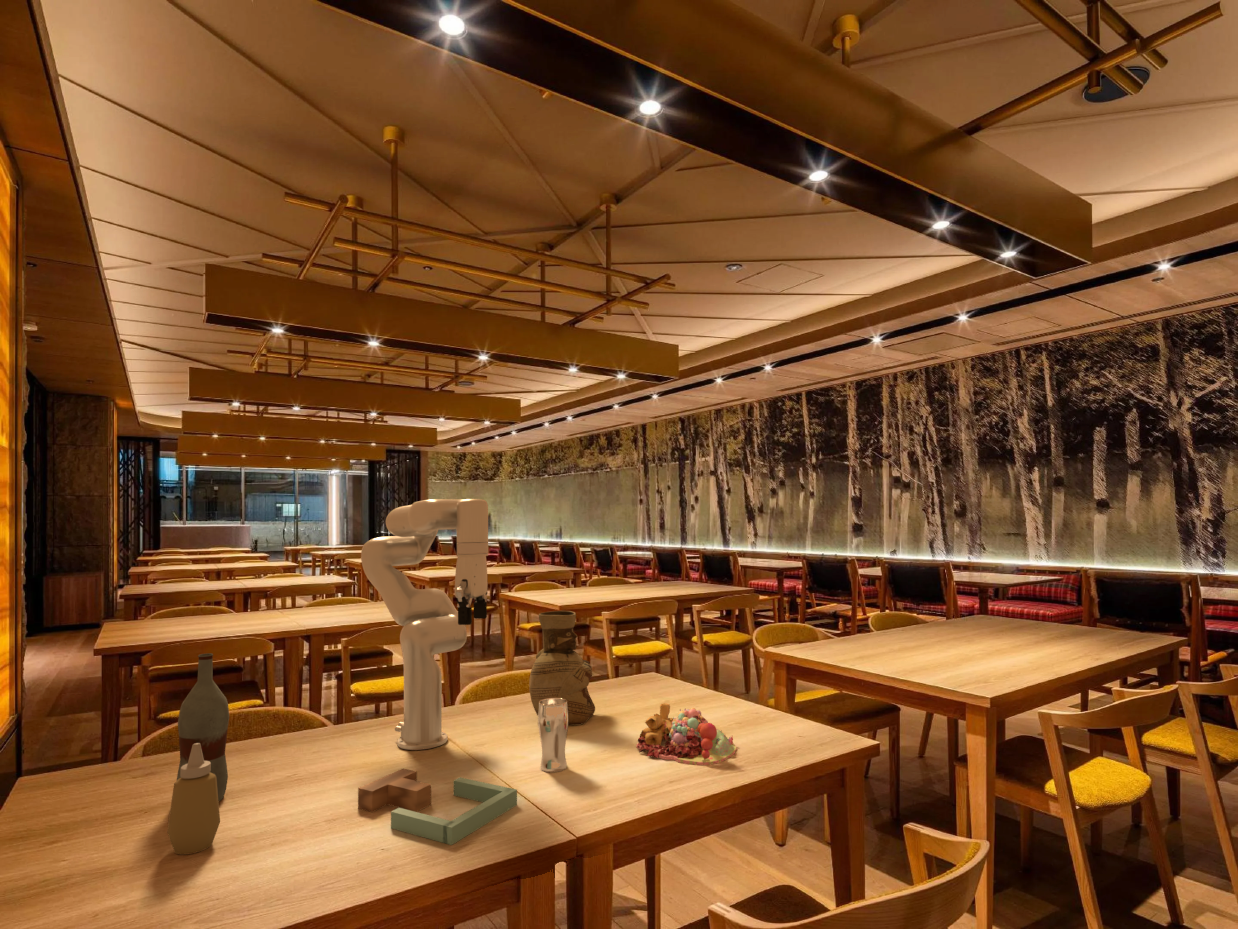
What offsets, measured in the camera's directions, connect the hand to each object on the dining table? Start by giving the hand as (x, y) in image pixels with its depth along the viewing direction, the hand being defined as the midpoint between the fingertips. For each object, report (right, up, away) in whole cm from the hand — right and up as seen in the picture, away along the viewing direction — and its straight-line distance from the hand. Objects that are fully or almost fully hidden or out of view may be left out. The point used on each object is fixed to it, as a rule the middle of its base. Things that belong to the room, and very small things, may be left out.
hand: (472, 621), depth 165 cm
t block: (-9, -31, -25) cm, 41 cm away
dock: (+4, -31, -32) cm, 44 cm away
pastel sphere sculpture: (+52, -33, +6) cm, 62 cm away
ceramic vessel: (+19, -36, +33) cm, 52 cm away
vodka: (-52, -33, -22) cm, 65 cm away
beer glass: (+20, -33, -7) cm, 39 cm away
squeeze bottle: (-41, -31, -43) cm, 67 cm away
